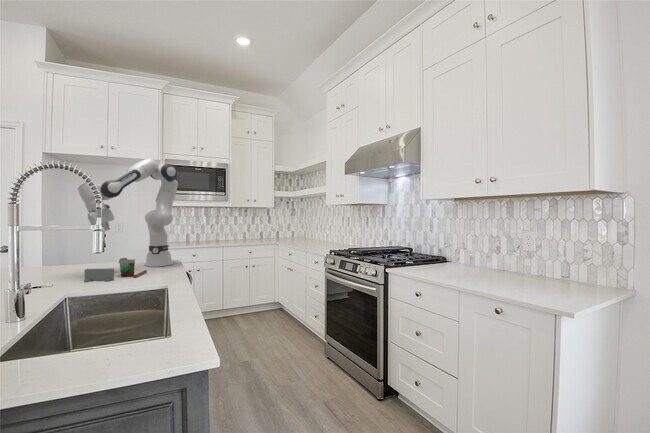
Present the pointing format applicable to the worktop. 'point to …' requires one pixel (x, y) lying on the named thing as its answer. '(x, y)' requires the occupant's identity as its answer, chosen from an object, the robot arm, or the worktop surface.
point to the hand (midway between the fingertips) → (107, 230)
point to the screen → (99, 275)
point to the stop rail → (140, 273)
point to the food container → (127, 267)
